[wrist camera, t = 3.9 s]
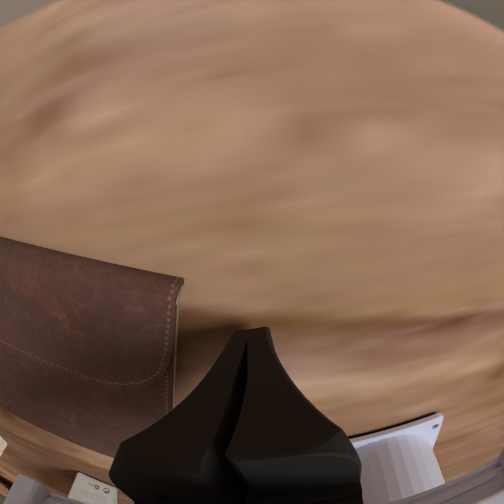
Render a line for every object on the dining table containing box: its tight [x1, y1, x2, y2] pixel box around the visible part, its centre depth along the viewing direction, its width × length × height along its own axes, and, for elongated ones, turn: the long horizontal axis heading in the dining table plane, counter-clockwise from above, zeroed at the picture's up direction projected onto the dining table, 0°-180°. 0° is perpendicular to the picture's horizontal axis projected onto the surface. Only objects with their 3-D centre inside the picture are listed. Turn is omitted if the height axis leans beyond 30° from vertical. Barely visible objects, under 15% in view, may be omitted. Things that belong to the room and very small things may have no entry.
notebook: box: [0, 237, 184, 458], centre depth 14 cm, size 15×20×2 cm
